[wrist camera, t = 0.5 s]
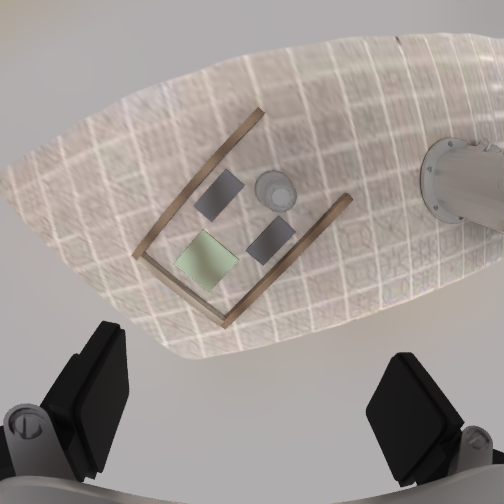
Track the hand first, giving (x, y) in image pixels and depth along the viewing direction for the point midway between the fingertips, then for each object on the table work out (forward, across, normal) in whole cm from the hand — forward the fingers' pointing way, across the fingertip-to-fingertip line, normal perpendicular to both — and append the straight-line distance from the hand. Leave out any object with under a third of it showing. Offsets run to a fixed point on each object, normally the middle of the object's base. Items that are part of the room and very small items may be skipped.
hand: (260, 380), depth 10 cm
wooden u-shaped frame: (+30, 0, +2) cm, 30 cm away
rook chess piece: (+30, -3, -4) cm, 30 cm away
